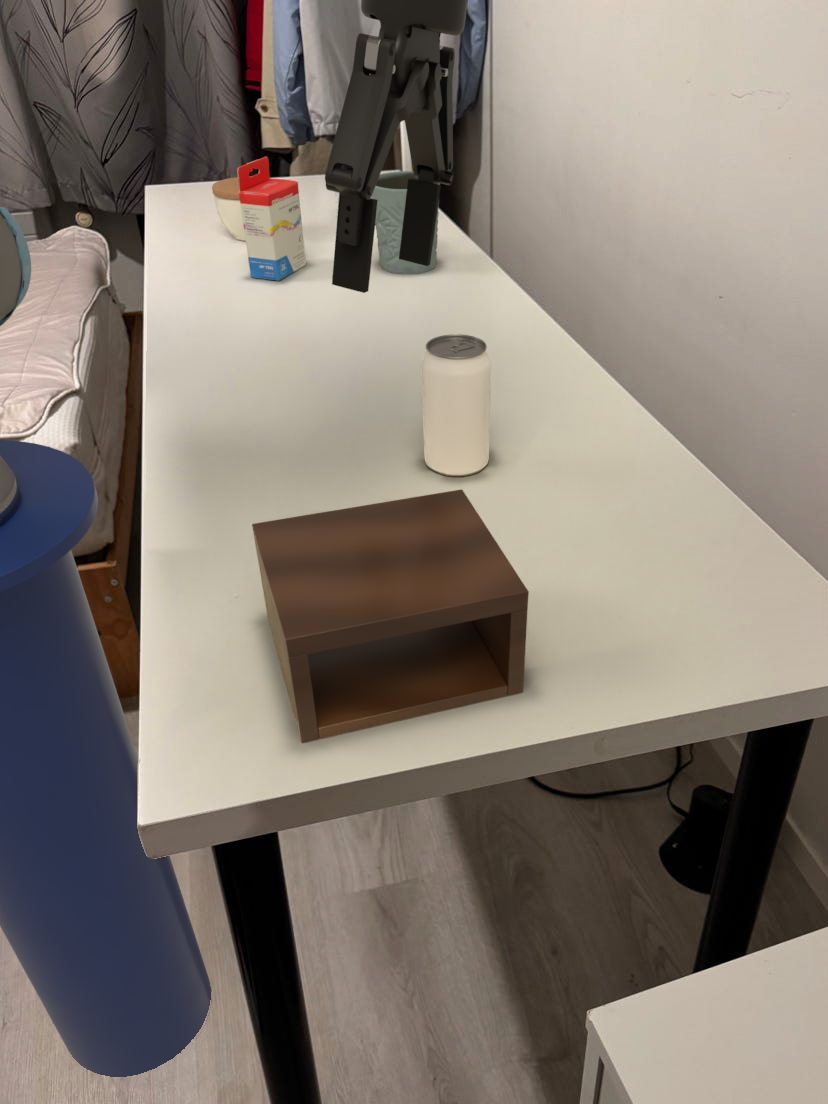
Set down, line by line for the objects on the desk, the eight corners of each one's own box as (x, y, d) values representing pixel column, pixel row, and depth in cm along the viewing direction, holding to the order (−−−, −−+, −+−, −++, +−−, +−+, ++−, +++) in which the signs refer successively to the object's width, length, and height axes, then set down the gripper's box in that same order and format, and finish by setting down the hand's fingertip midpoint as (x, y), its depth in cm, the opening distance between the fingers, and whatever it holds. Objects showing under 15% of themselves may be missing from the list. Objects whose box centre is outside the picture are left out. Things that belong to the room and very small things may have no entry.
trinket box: (281, 224, 157) (273, 163, 151) (291, 242, 149) (284, 179, 143) (216, 229, 154) (206, 167, 148) (223, 248, 146) (213, 183, 140)
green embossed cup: (447, 257, 144) (446, 172, 136) (433, 278, 136) (431, 190, 128) (383, 253, 145) (379, 169, 137) (366, 273, 137) (360, 186, 130)
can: (411, 460, 93) (406, 344, 85) (459, 440, 96) (459, 327, 89) (453, 485, 89) (453, 365, 82) (502, 463, 93) (505, 346, 85)
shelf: (268, 621, 73) (251, 523, 67) (462, 584, 77) (462, 488, 71) (301, 743, 62) (285, 640, 57) (523, 692, 66) (528, 591, 61)
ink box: (279, 282, 134) (265, 171, 125) (249, 278, 135) (233, 167, 126) (307, 264, 140) (296, 157, 131) (278, 261, 141) (265, 154, 132)
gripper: (402, -54, 54) (364, 314, 66) (517, -12, 75) (473, 262, 86) (286, -76, 55) (269, 288, 67) (431, -30, 76) (399, 243, 87)
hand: (384, 274), depth 77 cm, fingers open, 13 cm apart
